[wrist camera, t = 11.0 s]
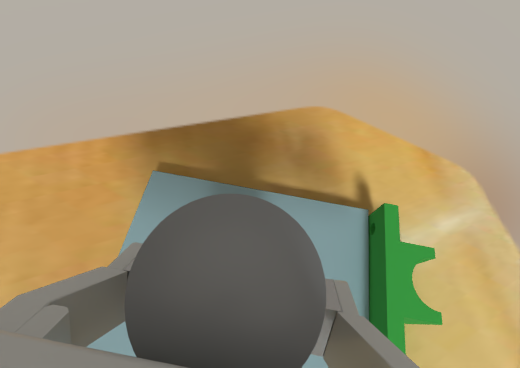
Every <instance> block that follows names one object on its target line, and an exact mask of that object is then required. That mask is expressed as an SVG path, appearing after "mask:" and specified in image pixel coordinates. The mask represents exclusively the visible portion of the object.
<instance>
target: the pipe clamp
mask: <svg viewBox="0 0 520 368" xmlns="http://www.w3.org/2000/svg"><path fill="white" fill-rule="evenodd" d="M368 235H369V322H370V323H371V324H373V325H374V326H375V327H376V328H377V329H378V330H379V331H380V332H381V333H382V334H383V335H384V336H386V337H387V338H388V339H389V340H390V341H391V342H392V343H393V344H394V345H395V346H396V347H398V348H399V349H400V350H401V351H402V352H403V353H404V354H405V355H406V353H405V333H404V323H405V324H433V325H442V316H441V312H437V311H435V310H433V309H431V308H429V307H428V306H427V305H426V304H424V303H423V302H422V301H421V299H420V298H419V297H418V295H417V293H416V291H415V289H414V286H413V282H412V272H413V269H414V267H415V265H416V264H418V263H422V262H425V261H428V260H431V259H434V258H435V250H434V248H430V247H425V246H420V245H415V244H410V243H405V242H400V233H399V213H398V206H397V205H392V204H387V203H384V204H383V205H381V206H380V207H379V208H378V209H377V210H375V211H374V212H373V213H372V214H370V215H369V216H368Z"/></svg>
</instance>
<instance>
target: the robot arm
mask: <svg viewBox="0 0 520 368" xmlns="http://www.w3.org/2000/svg"><path fill="white" fill-rule="evenodd" d="M142 244H143V243H137V242H134V243H132V244H131V245H130V246H129V247H128V248H126V249H125V250H124V251H123V252H122V253H121V254H120V255H119V256H118V257H117V258H116V259H115V260H114V261H113V262H112V263H111V264H110V265H109V266H108V267H100V268H97V269H94V270H91V271H88V272H85V273H82V274H79V275H76V276H74V277H71V278H68V279H65V280H62V281H59V282H56V283H53V284H50V285H47V286H44V287H42V288H39V289H36V290H33V291H30V292H27V293H24V294H21V295H18V296H16V297H15V298H14V299H12V300H11V301H10V302H8V303H7V304H6V305H4V306H3V307H2V308H0V368H188V367H183V366H178V365H173V364H168V363H163V362H158V361H153V360H148V359H143V358H138V357H133V356H128V355H123V354H118V353H113V352H108V351H103V350H98V349H93V348H88V347H87V346H88V345H90V344H91V343H93V342H94V341H96V340H97V339H99V338H100V337H102V336H103V335H105V334H106V333H108V332H109V331H111V330H112V329H114V328H115V327H117V326H118V325H120V324H121V323H123V322H125V311H124V303H125V291H126V285H127V280H128V276H129V273H130V270H131V266H132V264H133V262H134V259H135V257H136V255H137V253H138V251H139V249H140V248H141V246H142ZM325 283H326V309H325V317H324V321H323V325H322V329H321V332H320V335H319V338H318V340H317V343H316V345H315V347H314V349H313V351H312V353H311V354H312V355H317V356H321V357H323V359H324V361H325V362H326V364H327V365H328V367H329V368H419V367H418V366H417V365H416V364H415V363H414V362H413V361H412V360H411V359H409V358H408V357H407V356H406V355H405V354H404V353H403V352H402V351H401V350H400V349H399V348H398V347H396V346H395V345H394V344H393V343H392V342H391V341H390V340H389V339H388V338H387V337H386V336H384V335H383V334H382V333H381V332H380V331H379V330H378V329H377V328H376V327H375V326H374V325H373V324H371V323H370V322H369V321H368V320H367V319H366V318H365V317H364V316H359V313H358V310H357V307H356V305H355V302H354V299H353V296H352V293H351V290H350V288H349V285H348V283H347V282H346V281H341V280H334V279H326V278H325Z"/></svg>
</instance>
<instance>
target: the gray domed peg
mask: <svg viewBox="0 0 520 368" xmlns="http://www.w3.org/2000/svg"><path fill="white" fill-rule="evenodd" d="M325 309H326V283H325V275H324V271H323V267H322V263H321V260H320V257H319V255H318V252H317V250H316V248H315V246H314V244H313V242H312V240H311V239H310V237H309V236H308V234H307V233H306V232H305V230H304V229H303V228H302V227H301V225H300V224H299V223H298V222H297V221H296V220H295V219H294V218H293V217H291V216H290V215H289V214H288V213H287V212H285V211H284V210H282V209H281V208H279V207H278V206H276V205H274V204H272V203H270V202H268V201H266V200H263V199H260V198H257V197H253V196H249V195H243V194H218V195H211V196H207V197H203V198H200V199H197V200H195V201H192V202H190V203H188V204H186V205H184V206H182V207H180V208H179V209H177V210H175V211H174V212H172V213H171V214H170V215H168V216H167V217H166V218H165V219H164V220H162V221H161V222H160V223H159V224H158V225H157V226H156V227H155V228H154V230H153V231H152V232H151V233H150V234H149V236H148V237H147V238H146V240H145V241H144V243H143V244H142V246H141V248H140V249H139V251H138V253H137V255H136V257H135V259H134V262H133V264H132V266H131V270H130V273H129V276H128V280H127V285H126V291H125V303H124V311H125V323H126V328H127V333H128V337H129V340H130V343H131V346H132V348H133V351H134V353H135V355H136V357H138V358H143V359H148V360H153V361H158V362H163V363H168V364H173V365H178V366H183V367H188V368H302V366H303V365H304V364H305V362H306V361H307V359H308V358H309V356H310V354H311V353H312V351H313V349H314V347H315V345H316V343H317V340H318V338H319V335H320V332H321V329H322V325H323V321H324V317H325Z"/></svg>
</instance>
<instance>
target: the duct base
mask: <svg viewBox="0 0 520 368" xmlns="http://www.w3.org/2000/svg"><path fill="white" fill-rule="evenodd" d="M218 194H243V195H249V196H253V197H257V198H260V199H263V200H266V201H268V202H270V203H272V204H274V205H276V206H278V207H279V208H281V209H282V210H284V211H285V212H287V213H288V214H289V215H290V216H291V217H293V218H294V219H295V220H296V221H297V222H298V223H299V224H300V225H301V227H302V228H303V229H304V230H305V232H306V233H307V234H308V236H309V237H310V239H311V240H312V242H313V244H314V246H315V248H316V250H317V252H318V255H319V257H320V260H321V263H322V267H323V271H324V275H325V278H326V279H334V280H341V281H346V282H347V283H348V285H349V288H350V290H351V293H352V296H353V299H354V302H355V305H356V307H357V310H358V313H359V316H364V317H365V318H366V319H367V320H368V321H369V235H368V210H366V209H360V208H355V207H349V206H344V205H338V204H333V203H328V202H322V201H317V200H311V199H306V198H300V197H295V196H289V195H284V194H278V193H273V192H268V191H262V190H257V189H251V188H246V187H240V186H235V185H229V184H224V183H218V182H213V181H208V180H202V179H197V178H191V177H186V176H180V175H175V174H169V173H164V172H158V171H153V172H152V175H151V177H150V179H149V182H148V184H147V187H146V189H145V192H144V194H143V197H142V199H141V202H140V204H139V207H138V209H137V211H136V214H135V216H134V219H133V221H132V224H131V226H130V229H129V231H128V234H127V236H126V238H125V241H124V243H123V246H122V248H121V251H120V253H119V255H120V254H121V253H122V252H123V251H124V250H125V249H126V248H128V247H129V246H130V245H131V244H132V243H134V242H137V243H144V241H145V240H146V238H147V237H148V236H149V234H150V233H151V232H152V231H153V230H154V228H155V227H156V226H157V225H158V224H159V223H160V222H161V221H162V220H164V219H165V218H166V217H167V216H168V215H170V214H171V213H172V212H174V211H175V210H177V209H179V208H180V207H182V206H184V205H186V204H188V203H190V202H192V201H195V200H197V199H200V198H203V197H207V196H211V195H218ZM87 347H88V348H93V349H98V350H103V351H108V352H113V353H118V354H123V355H128V356H133V357H136V355H135V353H134V351H133V348H132V346H131V343H130V340H129V337H128V333H127V328H126V323H125V322H123V323H121V324H120V325H118V326H117V327H115V328H114V329H112V330H111V331H109V332H108V333H106V334H105V335H103V336H102V337H100V338H99V339H97V340H96V341H94V342H93V343H91V344H90V345H88V346H87ZM302 368H329V367H328V365H327V364H326V362H325V361H324V359H323V357H321V356H317V355H312V354H310V356H309V358H308V359H307V361H306V362H305V364H304V365H303V366H302Z"/></svg>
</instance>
